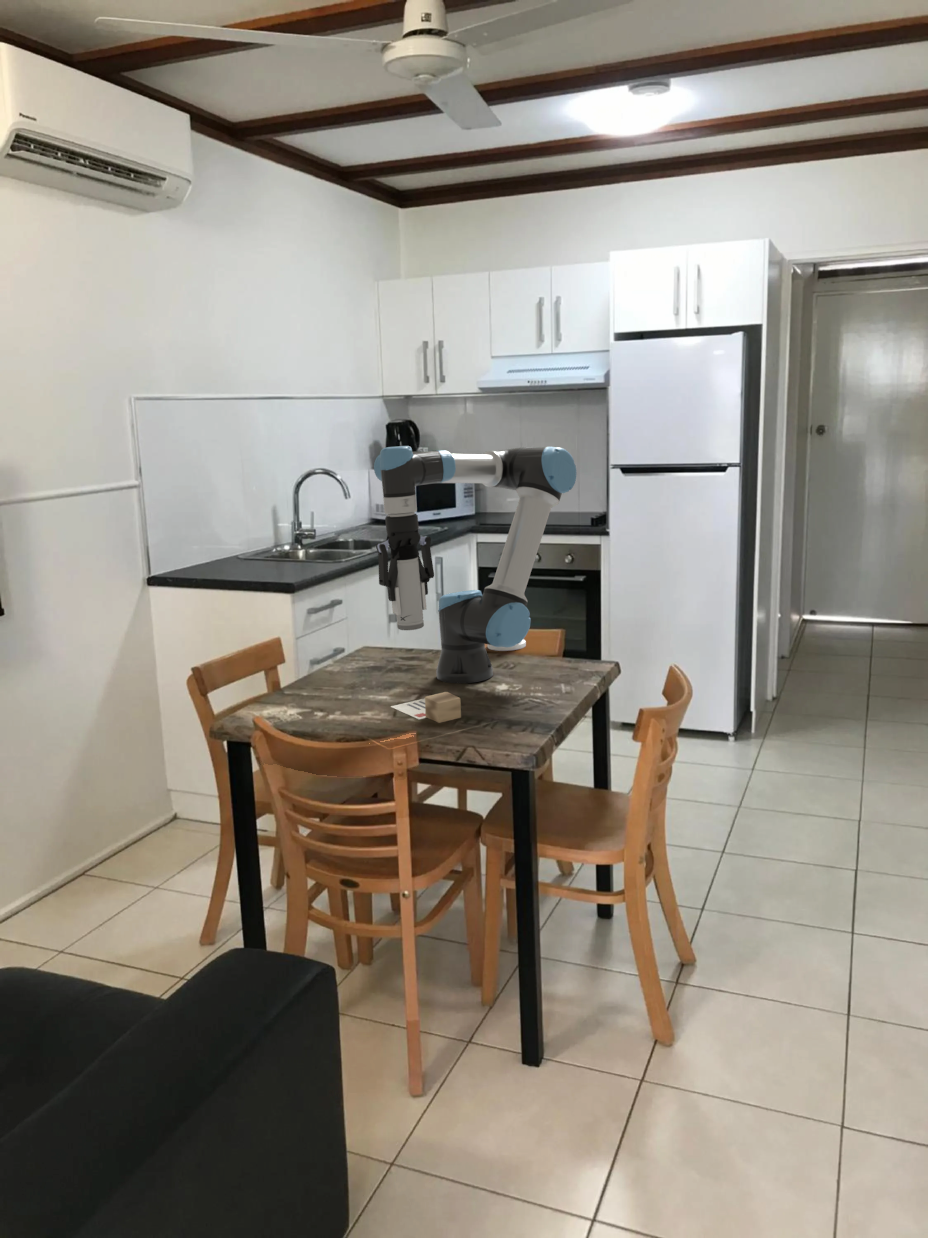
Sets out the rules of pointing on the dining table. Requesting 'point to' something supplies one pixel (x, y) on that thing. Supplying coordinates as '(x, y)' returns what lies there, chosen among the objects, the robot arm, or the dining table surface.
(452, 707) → the oak block
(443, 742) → the dining table surface
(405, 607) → the travel mug
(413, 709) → the letter
